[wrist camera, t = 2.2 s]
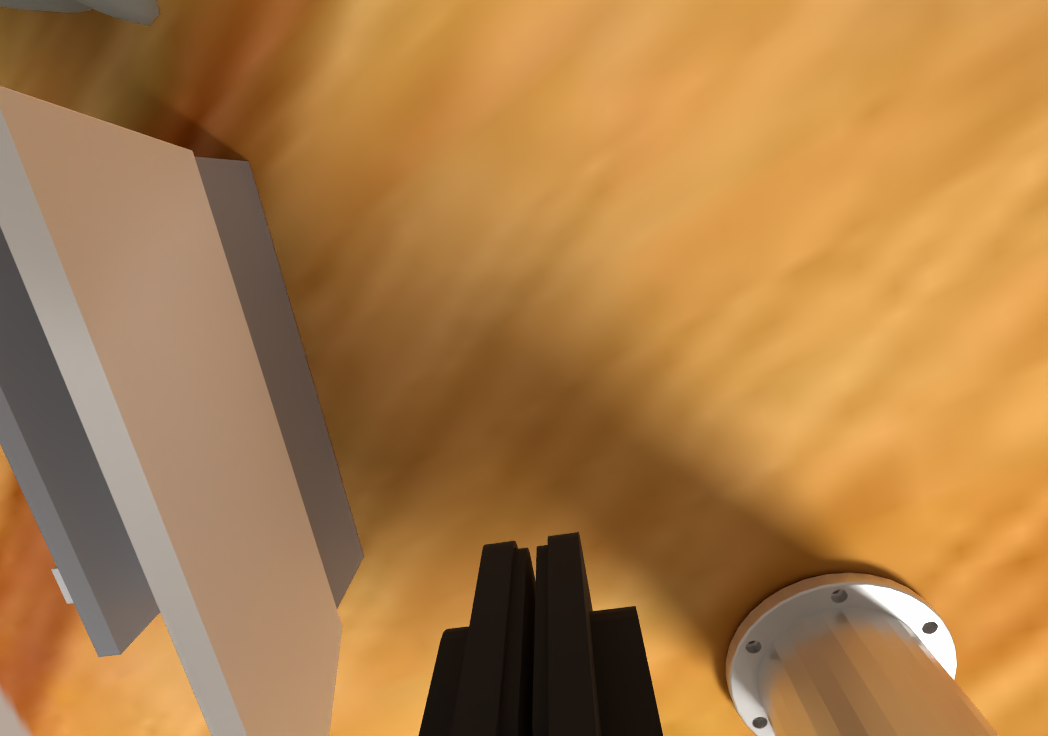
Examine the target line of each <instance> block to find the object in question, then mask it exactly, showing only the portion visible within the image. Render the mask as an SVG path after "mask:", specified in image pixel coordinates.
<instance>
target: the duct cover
mask: <svg viewBox="0 0 1048 736" xmlns="http://www.w3.org/2000/svg"><path fill="white" fill-rule="evenodd" d="M0 227H1V229H2V232H3V234H4V236H5V239H6V241H7V244H8V246H9V249H10V251H11V253H12V256H13V258H14V261H15V263H16V265H17V268H18V270H19V273H20V275H21V277H22V280H23V282H24V285H25V287H26V290H27V292H28V294H29V297H30V299H31V302H32V304H33V306H34V309H35V311H36V314H37V316H38V318H39V321H40V323H41V326H42V328H43V331H44V333H45V335H46V338H47V340H48V343H49V345H50V347H51V350H52V352H53V355H54V357H55V359H56V362H57V364H58V367H59V369H60V372H61V374H62V376H63V379H64V381H65V384H66V386H67V388H68V391H69V393H70V396H71V398H72V400H73V403H74V405H75V408H76V410H77V412H78V415H79V417H80V420H81V422H82V425H83V427H84V429H85V432H86V434H87V437H88V439H89V441H90V444H91V446H92V449H93V451H94V453H95V456H96V458H97V461H98V463H99V466H100V468H101V470H102V473H103V475H104V478H105V480H106V482H107V485H108V487H109V490H110V492H111V494H112V497H113V499H114V502H115V504H116V507H117V509H118V511H119V514H120V516H121V519H122V521H123V523H124V526H125V528H126V531H127V533H128V535H129V538H130V540H131V543H132V545H133V548H134V550H135V552H136V555H137V557H138V560H139V562H140V564H141V567H142V569H143V572H144V574H145V576H146V579H147V581H148V584H149V586H150V588H151V591H152V593H153V596H154V598H155V601H156V603H157V605H158V608H159V610H160V613H161V615H162V617H163V620H164V622H165V625H166V627H167V629H168V632H169V634H170V637H171V639H172V642H173V644H174V646H175V649H176V651H177V654H178V656H179V658H180V661H181V663H182V666H183V668H184V670H185V673H186V675H187V678H188V680H189V683H190V685H191V687H192V690H193V692H194V695H195V697H196V699H197V702H198V704H199V707H200V709H201V711H202V714H203V716H204V719H205V721H206V723H207V726H208V728H209V731H210V733H211V736H329V732H330V724H331V716H332V707H333V699H334V691H335V683H336V675H337V666H338V658H339V650H340V642H341V634H342V624H341V621H340V618H339V614H338V611H337V608H336V605H335V602H334V599H333V595H332V592H331V589H330V586H329V583H328V579H327V576H326V573H325V570H324V567H323V564H322V560H321V557H320V554H319V551H318V548H317V545H316V541H315V538H314V535H313V532H312V529H311V526H310V522H309V519H308V516H307V513H306V510H305V506H304V503H303V500H302V497H301V494H300V491H299V487H298V484H297V481H296V478H295V475H294V472H293V468H292V465H291V462H290V459H289V456H288V452H287V449H286V446H285V443H284V440H283V437H282V433H281V430H280V427H279V424H278V421H277V418H276V414H275V411H274V408H273V405H272V402H271V399H270V395H269V392H268V389H267V386H266V383H265V379H264V376H263V373H262V370H261V367H260V364H259V360H258V357H257V354H256V351H255V348H254V345H253V341H252V338H251V335H250V332H249V329H248V326H247V322H246V319H245V316H244V313H243V310H242V306H241V303H240V300H239V297H238V294H237V291H236V287H235V284H234V281H233V278H232V275H231V272H230V268H229V265H228V262H227V259H226V256H225V253H224V249H223V246H222V243H221V240H220V237H219V233H218V230H217V227H216V224H215V221H214V218H213V214H212V211H211V208H210V205H209V202H208V199H207V195H206V192H205V189H204V186H203V183H202V179H201V176H200V173H199V170H198V167H197V164H196V160H195V157H194V154H193V151H192V150H189V149H186V148H183V147H180V146H177V145H174V144H171V143H168V142H165V141H162V140H159V139H156V138H153V137H150V136H147V135H144V134H141V133H139V132H136V131H133V130H130V129H127V128H124V127H121V126H118V125H115V124H112V123H109V122H106V121H103V120H100V119H97V118H94V117H91V116H88V115H85V114H82V113H80V112H77V111H74V110H71V109H68V108H65V107H62V106H59V105H56V104H53V103H50V102H47V101H44V100H41V99H38V98H35V97H32V96H29V95H26V94H23V93H21V92H18V91H15V90H12V89H9V88H6V87H3V86H0Z"/></svg>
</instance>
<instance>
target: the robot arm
mask: <svg viewBox="0 0 1048 736" xmlns="http://www.w3.org/2000/svg"><path fill="white" fill-rule="evenodd" d="M956 666H957V660H956V649H955V645H954V642H953V639H952V636H951V633H950V631H949V629H948V628H947V626H946V625H945V623H944V622H943V620H942V619H941V617H940V616H939V615H938V614H937V613H936V611H935V610H934V609H933V608H932V607H931V606H930V605H929V604H928V603H927V602H926V601H925V600H924V599H923V598H922V597H920V596H919V595H918V594H916V593H915V592H914V591H912V590H911V589H909V588H908V587H906V586H903V585H901V584H899V583H897V582H895V581H892V580H890V579H886V578H882V577H878V576H874V575H871V574H859V573H837V574H825V575H821V576H817V577H813V578H809V579H804V580H802V581H799V582H797V583H794V584H792V585H790V586H787V587H785V588H783V589H781V590H779V591H778V592H776V593H775V594H773V595H771V596H770V597H768V598H766V599H765V600H764V601H763V602H762V603H760V604H759V605H758V606H757V607H756V608H755V609H754V610H752V611H751V612H750V613H749V615H748V616H747V617H746V618H745V620H744V621H743V622H742V623H741V625H740V626H739V627H738V629H737V631H736V633H735V635H734V637H733V639H732V641H731V643H730V646H729V650H728V654H727V658H726V680H727V685H728V689H729V693H730V696H731V698H732V701H733V703H734V706H735V709H736V711H737V713H738V714H739V716H740V717H741V719H742V720H743V722H744V723H745V725H746V726H747V727H748V728H749V729H750V730H751V731H752V732H753V733H754V734H755V735H756V736H1000V735H999V734H998V733H997V731H996V730H995V729H994V728H993V726H992V725H991V724H990V723H989V722H988V720H987V719H986V718H985V717H984V715H983V714H982V713H981V712H980V711H979V709H978V708H977V707H976V706H975V705H974V703H973V702H972V701H971V700H970V698H969V697H968V696H967V695H966V694H965V692H964V691H963V690H962V689H961V687H960V686H959V685H958V684H957V683H956V681H955V680H954V679H955V672H956ZM419 736H663V733H662V728H661V723H660V719H659V714H658V709H657V704H656V700H655V695H654V690H653V685H652V681H651V676H650V671H649V666H648V662H647V657H646V652H645V647H644V643H643V638H642V633H641V628H640V624H639V619H638V614H637V610H636V606H632V607H624V608H616V609H608V610H600V611H593V610H592V604H591V598H590V593H589V587H588V581H587V575H586V569H585V564H584V558H583V552H582V546H581V541H580V535H579V532H577V533H569V534H562V535H554V536H548V545H544V546H537V557H536V581H535V576H534V571H533V567H532V562H531V557H530V552H529V549H528V548H521V549H518V547H517V544H516V542H515V541H509V542H502V543H495V544H487V545H484V546H483V550H482V556H481V562H480V568H479V573H478V579H477V585H476V591H475V597H474V602H473V608H472V614H471V620H470V625H469V627H461V628H452V629H446V630H445V631H444V632H443V635H442V638H441V641H440V645H439V650H438V654H437V659H436V663H435V667H434V672H433V676H432V680H431V685H430V689H429V693H428V698H427V702H426V706H425V711H424V715H423V719H422V724H421V728H420V732H419Z"/></svg>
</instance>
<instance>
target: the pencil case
mask: <svg viewBox="0 0 1048 736" xmlns="http://www.w3.org/2000/svg"><path fill="white" fill-rule="evenodd" d="M0 7H5V8H13V9H21V10H34V11H48V12H62V13H79V12H85V11H90V10H92V9H94V10H96V11H99V12H101V13H104V14H106V15H109V16H112V17H114V18H117V19H121V20H125V21H130V22H134V23H138V24H143V25H148V26H150V25H151V23H152V22H153V21H154V20H155V19H156V18H157V17H158V15H159V14H160V11H159V7H158V4H157V0H0Z"/></svg>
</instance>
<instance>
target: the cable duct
mask: <svg viewBox="0 0 1048 736" xmlns="http://www.w3.org/2000/svg"><path fill="white" fill-rule="evenodd" d="M194 157H195V156H194ZM195 160H196V164H197V167H198V170H199V173H200V176H201V179H202V183H203V186H204V189H205V192H206V195H207V199H208V202H209V205H210V208H211V211H212V214H213V218H214V221H215V224H216V227H217V230H218V233H219V237H220V240H221V243H222V246H223V249H224V253H225V256H226V259H227V262H228V265H229V268H230V272H231V275H232V278H233V281H234V284H235V287H236V291H237V294H238V297H239V300H240V303H241V306H242V310H243V313H244V316H245V319H246V322H247V326H248V329H249V332H250V335H251V338H252V341H253V345H254V348H255V351H256V354H257V357H258V360H259V364H260V367H261V370H262V373H263V376H264V379H265V383H266V386H267V389H268V392H269V395H270V399H271V402H272V405H273V408H274V411H275V414H276V418H277V421H278V424H279V427H280V430H281V433H282V437H283V440H284V443H285V446H286V449H287V452H288V456H289V459H290V462H291V465H292V468H293V472H294V475H295V478H296V481H297V484H298V487H299V491H300V494H301V497H302V500H303V503H304V506H305V510H306V513H307V516H308V519H309V522H310V526H311V529H312V532H313V535H314V538H315V541H316V545H317V548H318V551H319V554H320V557H321V560H322V564H323V567H324V570H325V573H326V576H327V579H328V583H329V586H330V589H331V592H332V595H333V599H334V602H335V605H336V608H338V606H339V604H340V602H341V600H342V598H343V596H344V594H345V593H346V591H347V589H348V587H349V585H350V583H351V581H352V579H353V577H354V575H355V573H356V571H357V569H358V567H359V565H360V563H361V561H362V559H363V557H364V555H363V551H362V548H361V544H360V541H359V538H358V534H357V531H356V527H355V524H354V520H353V517H352V514H351V510H350V507H349V503H348V500H347V496H346V493H345V490H344V486H343V483H342V479H341V476H340V472H339V469H338V465H337V462H336V459H335V455H334V452H333V448H332V445H331V441H330V438H329V435H328V431H327V428H326V424H325V421H324V417H323V414H322V411H321V407H320V404H319V400H318V397H317V393H316V390H315V387H314V383H313V380H312V376H311V373H310V369H309V366H308V362H307V359H306V356H305V352H304V349H303V345H302V342H301V338H300V335H299V332H298V328H297V325H296V321H295V318H294V314H293V311H292V308H291V304H290V301H289V297H288V294H287V290H286V287H285V283H284V280H283V277H282V273H281V270H280V266H279V263H278V259H277V256H276V253H275V249H274V246H273V242H272V239H271V235H270V232H269V229H268V225H267V222H266V218H265V215H264V211H263V208H262V204H261V201H260V198H259V194H258V191H257V187H256V184H255V180H254V177H253V174H252V170H251V167H250V163H249V161H239V160H228V159H217V158H206V157H195ZM0 444H1V446H2V448H3V451H4V453H5V455H6V457H7V459H8V462H9V464H10V466H11V468H12V470H13V472H14V475H15V477H16V479H17V481H18V483H19V485H20V488H21V490H22V492H23V494H24V496H25V498H26V501H27V503H28V505H29V507H30V509H31V511H32V514H33V516H34V518H35V520H36V522H37V524H38V527H39V529H40V531H41V533H42V535H43V537H44V540H45V542H46V544H47V546H48V548H49V550H50V553H51V555H52V557H53V559H54V561H55V563H56V566H55V567H54V568H52V569H51V570H52V572H53V574H54V576H55V579H56V581H57V583H58V585H59V587H60V589H61V592H62V594H63V596H64V598H65V600H66V602H67V604H69V603H74V605H75V607H76V609H77V611H78V613H79V615H80V618H81V620H82V622H83V624H84V626H85V629H86V631H87V633H88V635H89V637H90V639H91V642H92V644H93V646H94V648H95V650H96V652H97V655H98V657H104V656H112V655H120V654H122V652H123V651H124V650H125V649H126V648H127V647H128V646H129V645H130V644H131V643H132V642H133V641H134V640H135V638H136V637H137V636H138V635H139V634H140V633H141V632H142V631H143V630H144V629H145V628H146V627H147V626H148V624H149V623H150V622H151V621H152V620H153V619H154V618H155V617H156V616H157V615H158V614H159V613H160V610H159V608H158V605H157V603H156V601H155V598H154V596H153V593H152V591H151V588H150V586H149V584H148V581H147V579H146V576H145V574H144V572H143V569H142V567H141V564H140V562H139V560H138V557H137V555H136V552H135V550H134V548H133V545H132V543H131V540H130V538H129V535H128V533H127V531H126V528H125V526H124V523H123V521H122V519H121V516H120V514H119V511H118V509H117V507H116V504H115V502H114V499H113V497H112V494H111V492H110V490H109V487H108V485H107V482H106V480H105V478H104V475H103V473H102V470H101V468H100V466H99V463H98V461H97V458H96V456H95V453H94V451H93V449H92V446H91V444H90V441H89V439H88V437H87V434H86V432H85V429H84V427H83V425H82V422H81V420H80V417H79V415H78V412H77V410H76V408H75V405H74V403H73V400H72V398H71V396H70V393H69V391H68V388H67V386H66V384H65V381H64V379H63V376H62V374H61V372H60V369H59V367H58V364H57V362H56V359H55V357H54V355H53V352H52V350H51V347H50V345H49V343H48V340H47V338H46V335H45V333H44V331H43V328H42V326H41V323H40V321H39V318H38V316H37V314H36V311H35V309H34V306H33V304H32V302H31V299H30V297H29V294H28V292H27V290H26V287H25V285H24V282H23V280H22V277H21V275H20V273H19V270H18V268H17V265H16V263H15V261H14V258H13V256H12V253H11V251H10V249H9V246H8V244H7V241H6V239H5V236H4V234H3V232H2V229H1V227H0Z"/></svg>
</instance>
